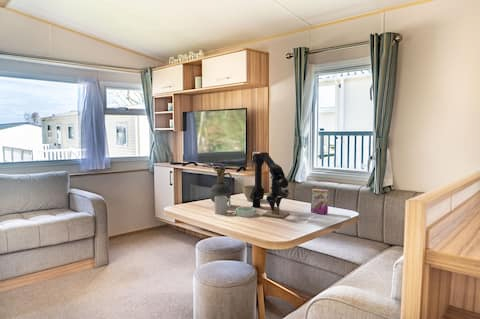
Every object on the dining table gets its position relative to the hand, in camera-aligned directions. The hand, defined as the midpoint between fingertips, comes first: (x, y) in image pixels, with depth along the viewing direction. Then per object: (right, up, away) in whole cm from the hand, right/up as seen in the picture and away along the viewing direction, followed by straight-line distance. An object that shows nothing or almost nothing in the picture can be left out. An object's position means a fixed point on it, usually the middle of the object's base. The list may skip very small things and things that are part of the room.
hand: (275, 209), depth 228 cm
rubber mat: (0, -5, 0) cm, 5 cm away
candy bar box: (+31, -4, +8) cm, 32 cm away
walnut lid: (0, -4, 0) cm, 4 cm away
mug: (-35, -4, +8) cm, 36 cm away
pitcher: (-37, -2, +29) cm, 47 cm away
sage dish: (-20, -5, +1) cm, 20 cm away
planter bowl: (-13, 0, +49) cm, 51 cm away
